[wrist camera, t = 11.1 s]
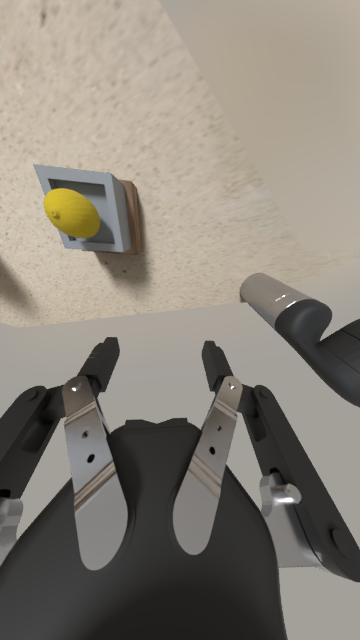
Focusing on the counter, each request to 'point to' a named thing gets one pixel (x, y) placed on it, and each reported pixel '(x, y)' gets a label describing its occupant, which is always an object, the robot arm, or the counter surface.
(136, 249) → the walnut base block
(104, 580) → the robot arm
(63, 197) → the lemon
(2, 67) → the counter surface
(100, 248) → the slate cup block
